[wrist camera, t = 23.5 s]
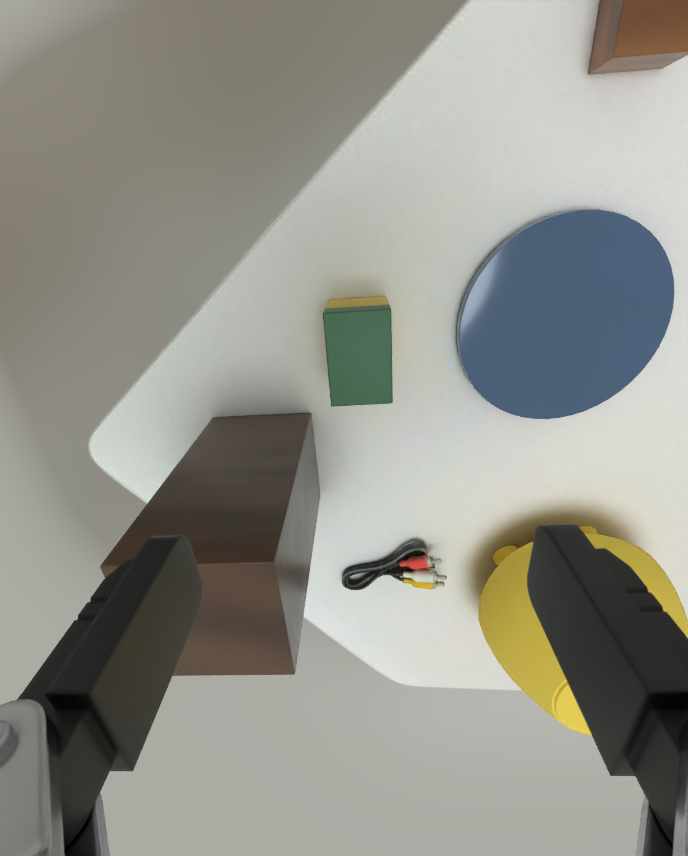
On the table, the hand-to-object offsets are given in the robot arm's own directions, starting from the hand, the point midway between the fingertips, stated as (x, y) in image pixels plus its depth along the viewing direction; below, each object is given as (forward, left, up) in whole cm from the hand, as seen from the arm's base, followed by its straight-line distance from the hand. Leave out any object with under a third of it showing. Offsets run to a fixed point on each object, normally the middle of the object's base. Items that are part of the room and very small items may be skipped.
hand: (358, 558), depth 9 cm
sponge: (0, 0, -22) cm, 22 cm away
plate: (0, +14, -22) cm, 26 cm away
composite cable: (+22, +2, -22) cm, 31 cm away
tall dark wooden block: (+10, -8, -22) cm, 26 cm away
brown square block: (-16, +15, -22) cm, 31 cm away
